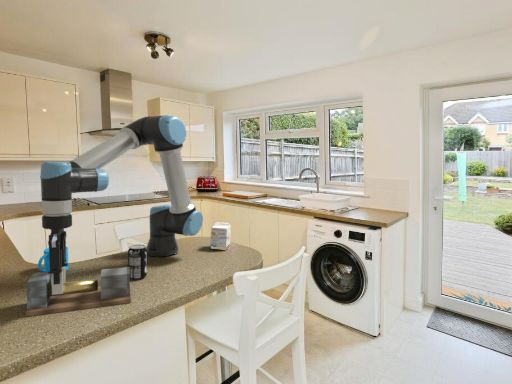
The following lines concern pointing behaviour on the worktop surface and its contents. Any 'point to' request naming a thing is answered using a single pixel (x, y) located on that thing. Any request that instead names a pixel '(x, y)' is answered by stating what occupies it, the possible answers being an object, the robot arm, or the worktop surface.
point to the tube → (75, 287)
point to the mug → (47, 261)
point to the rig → (110, 293)
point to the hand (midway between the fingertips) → (59, 290)
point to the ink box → (220, 234)
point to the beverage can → (137, 261)
